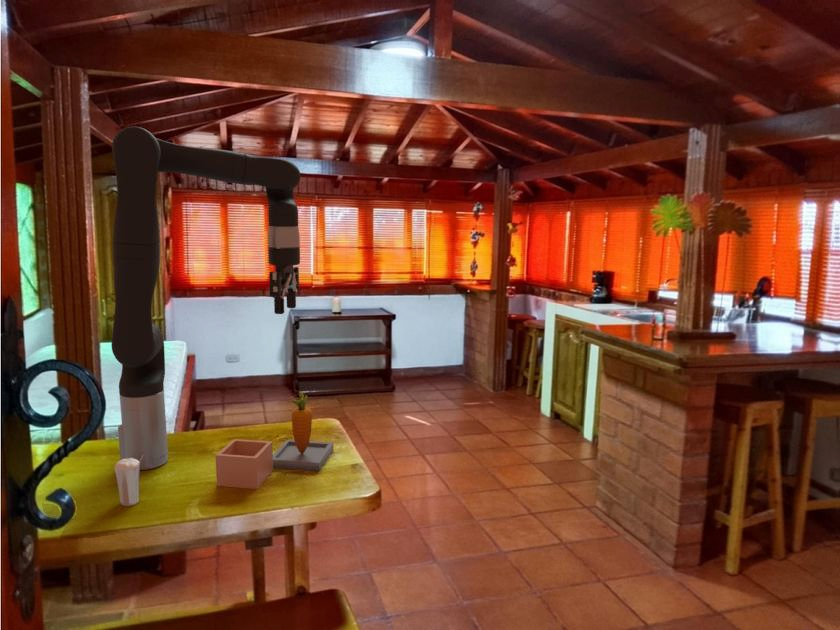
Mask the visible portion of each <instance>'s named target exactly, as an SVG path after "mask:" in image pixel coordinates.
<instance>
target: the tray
mask: <svg viewBox="0 0 840 630" xmlns="http://www.w3.org/2000/svg"><path fill="white" fill-rule="evenodd" d="M333 452H334V442H330V441H329V442H326V441H313V440H312V441H311V440H309V444H308V446H307V448H306V450H305V452H304V453H303V454H301V453H300V452H299V450H298V449H297V447H296V444H295V441H294V439H286V440H285V441H284V442H283V443H282V444H281V445H280V446H279V447H278V448H277V450H275V452H273V469H285V470H287V469H288V470H300V471H314V472H320V470H321V469H322V468H323V466H324V465H325V463H326V462H327V460H328V459H329V457H330V456H331V455H332V453H333Z"/></svg>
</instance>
